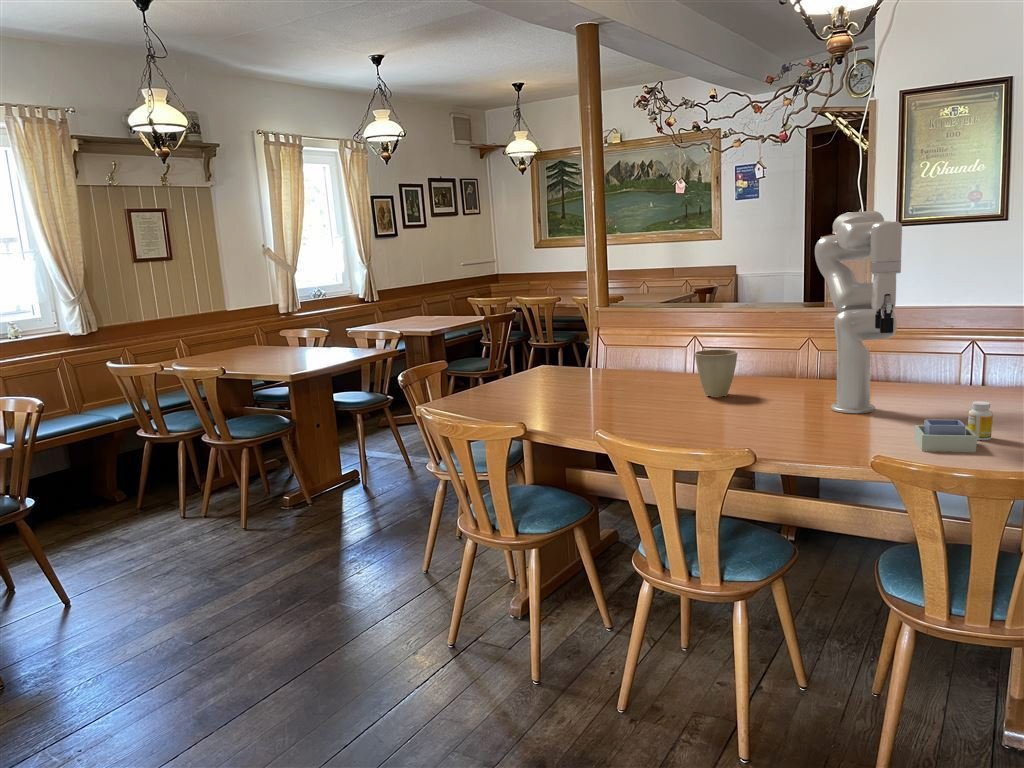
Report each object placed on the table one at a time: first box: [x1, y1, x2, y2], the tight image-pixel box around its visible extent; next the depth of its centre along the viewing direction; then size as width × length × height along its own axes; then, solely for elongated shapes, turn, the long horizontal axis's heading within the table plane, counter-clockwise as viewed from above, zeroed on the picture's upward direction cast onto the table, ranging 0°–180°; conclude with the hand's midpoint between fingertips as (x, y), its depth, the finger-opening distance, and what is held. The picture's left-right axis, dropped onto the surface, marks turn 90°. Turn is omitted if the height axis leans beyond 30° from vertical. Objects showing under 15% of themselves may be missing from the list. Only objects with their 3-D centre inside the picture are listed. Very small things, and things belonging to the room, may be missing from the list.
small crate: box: [923, 419, 966, 435], centre depth 190 cm, size 6×8×6 cm
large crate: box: [913, 424, 978, 453], centre depth 190 cm, size 10×12×4 cm
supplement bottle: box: [967, 400, 994, 441], centre depth 194 cm, size 5×5×10 cm
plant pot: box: [694, 349, 738, 397], centre depth 267 cm, size 15×15×16 cm
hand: (883, 330), depth 204 cm, fingers open, 9 cm apart
